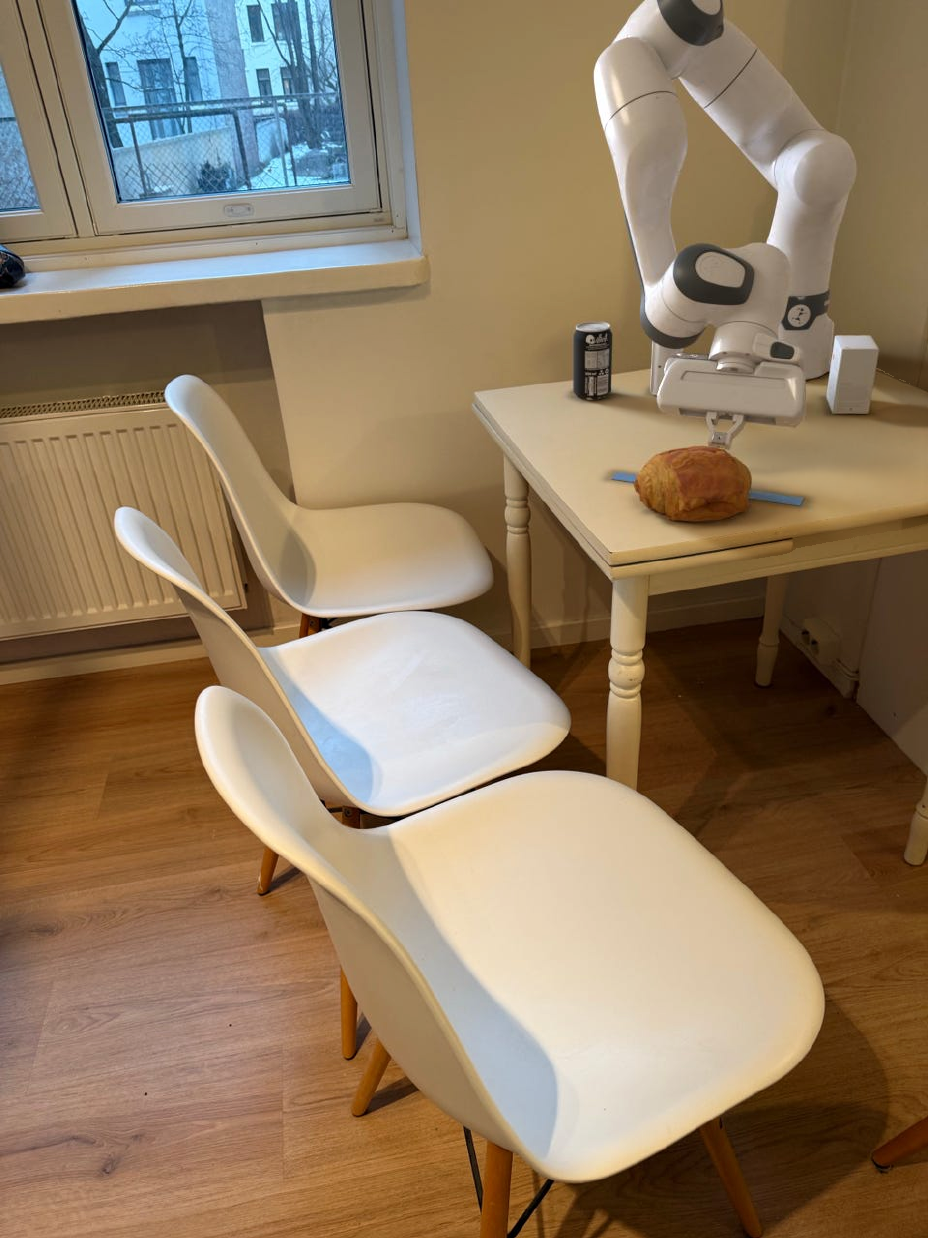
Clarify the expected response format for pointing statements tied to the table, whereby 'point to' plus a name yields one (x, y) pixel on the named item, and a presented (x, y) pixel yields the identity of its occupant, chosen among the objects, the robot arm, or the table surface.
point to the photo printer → (659, 365)
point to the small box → (852, 374)
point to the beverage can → (592, 360)
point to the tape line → (752, 494)
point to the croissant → (694, 484)
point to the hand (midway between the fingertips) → (718, 446)
